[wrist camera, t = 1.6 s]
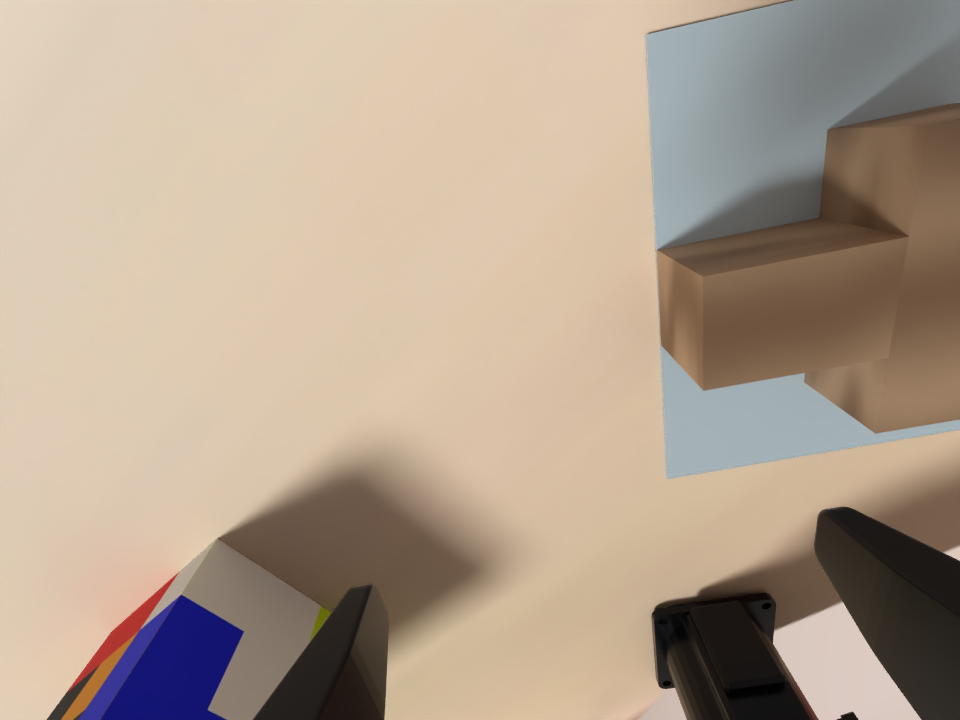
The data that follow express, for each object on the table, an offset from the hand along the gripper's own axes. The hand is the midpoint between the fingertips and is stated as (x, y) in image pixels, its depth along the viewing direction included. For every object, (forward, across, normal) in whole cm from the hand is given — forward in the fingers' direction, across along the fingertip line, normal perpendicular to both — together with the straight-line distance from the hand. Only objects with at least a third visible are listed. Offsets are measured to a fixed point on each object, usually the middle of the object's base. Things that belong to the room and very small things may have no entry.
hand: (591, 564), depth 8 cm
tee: (+12, -10, 0) cm, 16 cm away
